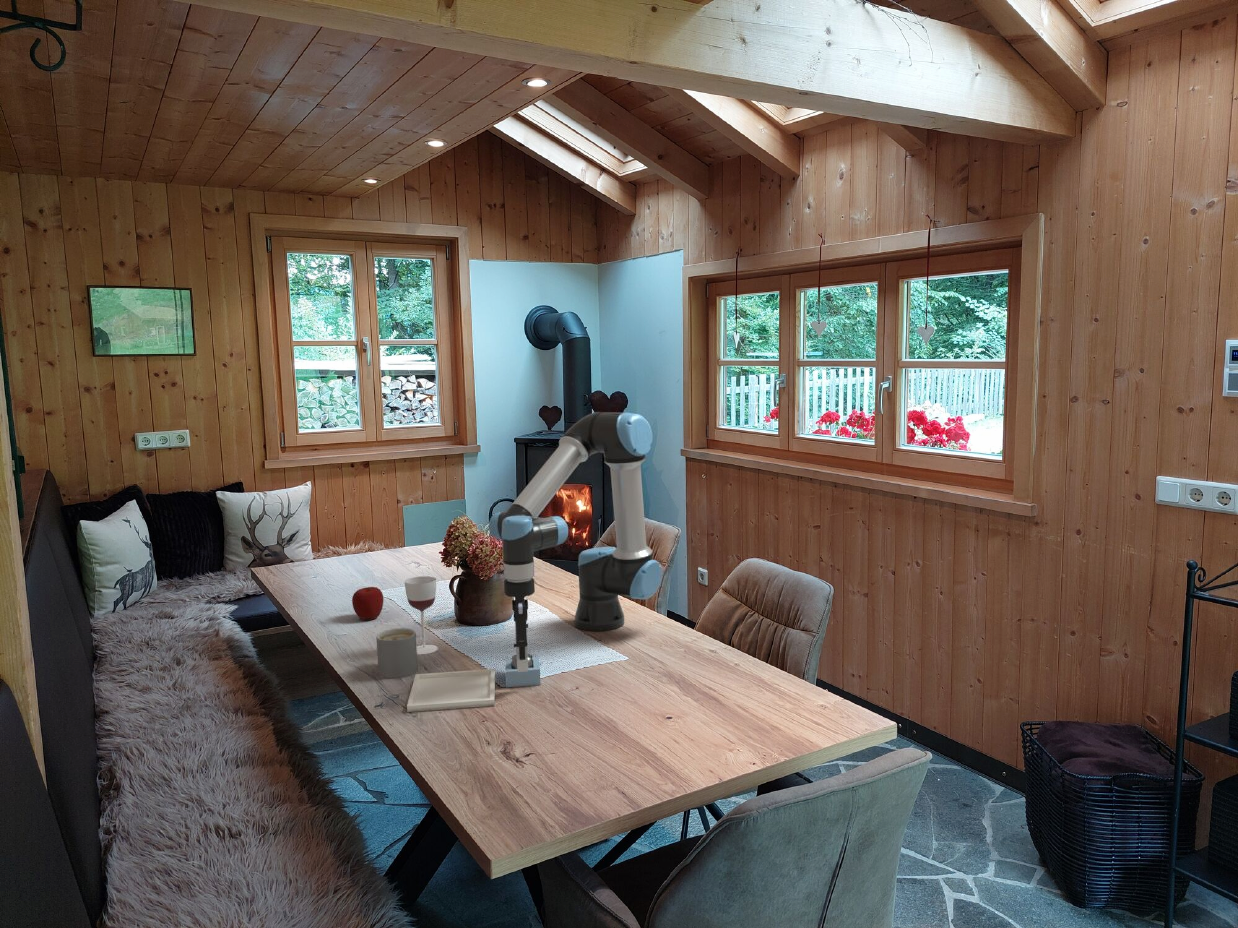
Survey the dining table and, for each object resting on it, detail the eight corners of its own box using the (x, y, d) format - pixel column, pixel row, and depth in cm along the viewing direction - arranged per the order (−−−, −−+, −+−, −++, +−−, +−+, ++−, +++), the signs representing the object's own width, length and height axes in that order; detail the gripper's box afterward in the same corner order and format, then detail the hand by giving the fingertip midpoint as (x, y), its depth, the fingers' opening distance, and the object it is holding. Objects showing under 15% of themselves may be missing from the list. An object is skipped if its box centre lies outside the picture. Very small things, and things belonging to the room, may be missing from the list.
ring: (539, 672, 221) (538, 657, 221) (540, 684, 213) (540, 669, 212) (506, 674, 220) (505, 659, 220) (506, 687, 212) (505, 671, 211)
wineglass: (432, 655, 236) (429, 584, 233) (403, 653, 238) (399, 583, 235) (444, 645, 244) (440, 576, 241) (415, 643, 245) (412, 575, 243)
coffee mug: (423, 672, 223) (421, 635, 222) (385, 680, 218) (383, 643, 217) (406, 657, 234) (404, 622, 233) (369, 665, 229) (367, 629, 228)
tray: (495, 674, 221) (495, 668, 220) (494, 705, 201) (494, 699, 201) (415, 679, 218) (415, 674, 218) (407, 712, 198) (406, 705, 198)
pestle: (532, 675, 219) (530, 612, 217) (533, 682, 214) (530, 618, 212) (512, 676, 219) (510, 614, 217) (513, 683, 214) (510, 620, 212)
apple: (346, 621, 268) (344, 590, 267) (366, 612, 277) (364, 582, 275) (371, 624, 264) (369, 592, 263) (390, 615, 273) (389, 584, 272)
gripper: (503, 567, 225) (507, 647, 227) (503, 592, 201) (507, 681, 204) (532, 565, 225) (535, 645, 228) (535, 590, 202) (539, 678, 205)
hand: (522, 662), depth 216 cm, fingers open, 12 cm apart
